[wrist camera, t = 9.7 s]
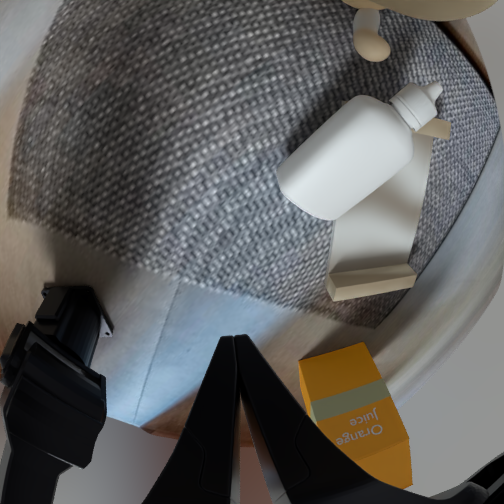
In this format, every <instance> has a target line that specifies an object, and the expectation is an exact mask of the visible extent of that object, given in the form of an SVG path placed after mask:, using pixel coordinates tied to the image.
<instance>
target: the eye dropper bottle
mask: <svg viewBox="0 0 504 504" xmlns="http://www.w3.org/2000/svg"><path fill="white" fill-rule="evenodd" d="M442 91H443V89H442V87H441V86H440V85H439V84H438V83H437V82H436V81H434V82H432V83H430V84H428V85H426V86H424V87H420V86H417V85H416V84H414V83H409V84H407V85H406V86H405V87H404V88H403V89H401V90H400V91H399V92H398V93H397V94H396V95H394V96H393V97H392V98H391V99H390V100H389V101H390V102H391V104H392V105H389V104H388V103H383V102H381V101H379V100H377V99H376V98H373V97H371V96H367V95H358V96H355V97H354V98H352V99H351V100H349V101H348V102H347V103H346V104H345V105H344V106H342V107H341V108H340V109H339V110H338V111H337V112H336V113H335V114H333V115H332V116H331V117H330V118H329V119H328V120H327V121H326V122H325V123H324V124H323V125H322V126H320V127H319V128H318V129H317V130H316V131H315V132H314V133H313V134H312V135H311V136H310V137H309V138H308V139H307V140H306V141H305V142H304V143H302V144H301V145H300V146H299V147H298V148H297V149H296V150H295V151H294V152H293V153H292V154H291V155H290V156H289V157H288V158H287V159H286V160H285V161H284V162H283V163H282V164H281V165H280V166H279V167H278V168H277V172H276V174H277V179H278V183H279V186H280V189H281V192H282V193H283V194H284V195H285V197H287V198H288V199H289V200H290V201H291V202H292V203H294V204H295V205H296V206H298V207H299V208H301V209H302V210H304V211H305V212H307V213H309V214H310V215H312V216H314V217H317V218H320V219H323V220H335V219H337V218H339V217H340V216H341V215H343V214H344V213H345V212H347V211H348V210H349V209H351V208H352V207H353V206H355V205H356V204H357V203H359V202H360V201H361V200H363V199H364V198H365V197H367V196H368V195H369V194H371V193H372V192H373V191H375V190H376V189H377V188H378V187H380V186H381V185H382V184H384V183H385V182H386V181H388V180H389V179H390V178H391V177H393V176H394V175H395V174H396V173H398V172H399V171H400V170H401V169H403V168H404V167H405V166H406V165H407V164H408V163H409V162H410V161H411V160H412V159H413V156H414V143H413V138H412V131H411V129H412V128H413V130H414V131H415V132H416V131H418V130H419V129H420V128H421V127H423V126H424V125H425V124H426V123H427V122H429V121H430V120H431V119H432V118H434V117H435V116H436V115H437V110H436V107H435V100H436V99H437V97H438V96H439V95H440V94H441V92H442Z"/></svg>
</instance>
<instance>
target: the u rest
mask: <svg viewBox="0 0 504 504" xmlns="http://www.w3.org/2000/svg"><path fill="white" fill-rule="evenodd" d="M347 102H348V101H342V106H344V105H345V104H346V103H347ZM450 127H451V122H447V121H444V120H440V119H437V118H432V119H431V120H430V121H429V122H427V123H426V124H425V125H424V126H423V127H421V128H420V129H419V130H418V131H416V132H415V131H414V130H413V128H412V129H411V131H412V138H413V143H414V156H413V159H412V160H411V161H410V162H409V163H408V164H407V165H406V166H405V167H404V168H403V169H401V170H400V171H399V172H398V173H396V174H395V175H394V176H393V177H391V178H390V179H389V180H388V181H386V182H385V183H384V184H382V185H381V186H380V187H378V188H377V189H376V190H375V191H373V192H372V193H371V194H369V195H368V196H367V197H365V198H364V199H363V200H361V201H360V202H359V203H357V204H356V205H355V206H353V207H352V208H351V209H349V210H348V211H347V212H345V213H344V214H343V215H341V216H340V217H339V218H337V219H335V220H333V226H332V234H331V242H330V249H329V256H328V263H327V269H326V276H325V282H324V284H325V286H326V288H327V290H328V292H329V294H330V296H331V298H332V300H333V301H339V300H346V299H352V298H357V297H363V296H369V295H374V294H380V293H385V292H390V291H395V290H400V289H405V288H410V287H413V285H414V283H415V280H416V277H417V274H416V273H415V272H414V271H413V269H412V268H411V267H410V266H409V265H408V264H407V261H408V258H409V255H410V251H411V248H412V244H413V241H414V237H415V233H416V230H417V226H418V222H419V218H420V213H421V209H422V204H423V200H424V195H425V190H426V184H427V179H428V173H429V167H430V160H431V153H432V145H433V137H438V138H442V139H446V140H449V137H450Z"/></svg>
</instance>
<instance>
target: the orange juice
mask: <svg viewBox="0 0 504 504" xmlns="http://www.w3.org/2000/svg"><path fill="white" fill-rule="evenodd" d="M298 362H299V374H300V387H301V391H302V395H303V398H304V402H305V405H306V409H307V413H308V416H309V417H310V418H311V419H312V421H313V422H314V423H315V424H316V425H317V426H318V428H319V429H320V430H321V431H322V432H323V433H324V434H325V436H326V437H327V438H328V439H330V440H331V441H332V442H333V443H334V444H335V445H336V446H337V447H338V448H339V449H340V450H341V451H342V452H344V453H345V454H346V455H347V456H348V457H349V458H350V459H352V460H353V461H354V462H355V463H356V464H357V465H359V466H360V467H361V468H362V469H363V470H365V471H366V472H367V473H369V474H370V475H372V476H373V477H375V478H376V479H378V480H380V481H382V482H384V483H387V484H390V485H392V486H395V487H398V488H400V489H405V488H407V487H409V486H411V485H413V484H412V469H411V457H410V446H409V436H408V434H407V432H406V429H405V427H404V425H403V422H402V420H401V418H400V416H399V413H398V411H397V409H396V407H395V405H394V402H393V400H392V398H391V395H390V393H389V391H388V389H387V386H386V384H385V382H384V380H383V378H382V377H381V375H380V373H379V371H378V369H377V367H376V365H375V363H374V361H373V359H372V357H371V355H370V353H369V351H368V349H367V347H366V345H365V343H364V342H361V343H358V344H355V345H352V346H349V347H346V348H342V349H339V350H336V351H332V352H329V353H326V354H322V355H318V356H315V357H311V358H307V359H303V360H300V361H298Z"/></svg>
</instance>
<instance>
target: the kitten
mask: <svg viewBox="0 0 504 504" xmlns="http://www.w3.org/2000/svg"><path fill="white" fill-rule="evenodd" d="M342 1H343V2H344V3H346V4H348V5H350V6H352V7H354V8H358V9H359V10H358V11H357V13H356V14H355V17H354V20H353V31H354V33H353V43H354V47H355V49H356V51H357V52H358V53H359V54H360V55H361V56H362V57H363V58H365V59H366V60H369V61H373V62H379V61H383V60H385V59H386V58H387V57H388V56H389V54H390V46H389V44H388V43H387V42H386V41H385V40H384V39H383V38H382V37H380V36H379V35H378V30H379V26H380V14H379V10H382V9H385V8H388V9H390V10H393V11H395V12H398V13H400V14H403V15H406V16H410V17H413V18H418V19H423V20H430V21H452V20H459V19H463V18H467V17H471V16H473V15H476V14H479V13H481V12H483V11H485V10H486V9H488V8H489V7H491V6H492V5H493V4H495V2H497V1H498V0H342Z"/></svg>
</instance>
